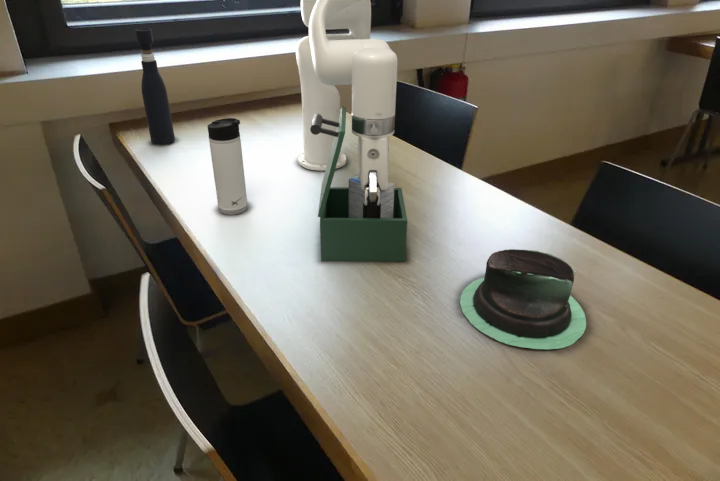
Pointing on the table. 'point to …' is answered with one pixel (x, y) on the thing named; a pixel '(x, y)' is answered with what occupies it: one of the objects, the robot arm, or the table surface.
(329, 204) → the chest
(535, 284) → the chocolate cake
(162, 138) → the dark blue water bottle
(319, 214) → the lid
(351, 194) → the medicine box
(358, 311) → the table surface
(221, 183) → the travel mug
